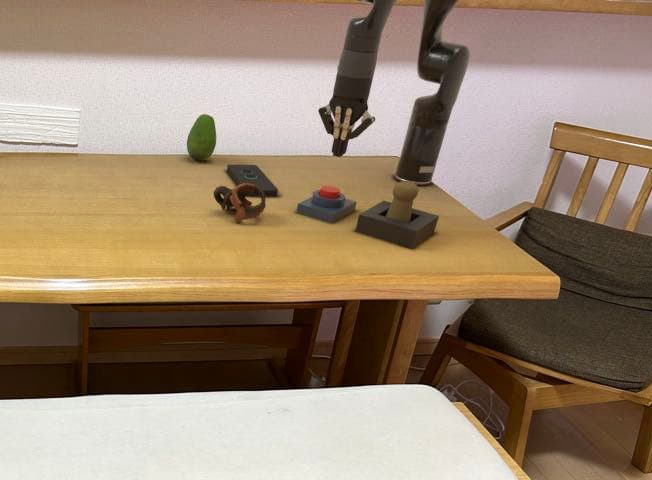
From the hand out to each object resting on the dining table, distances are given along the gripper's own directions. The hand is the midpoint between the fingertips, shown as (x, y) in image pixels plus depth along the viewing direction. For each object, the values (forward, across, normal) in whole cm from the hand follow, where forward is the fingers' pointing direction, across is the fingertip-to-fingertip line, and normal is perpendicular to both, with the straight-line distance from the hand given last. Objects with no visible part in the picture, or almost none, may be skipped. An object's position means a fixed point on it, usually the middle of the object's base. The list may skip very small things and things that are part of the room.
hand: (337, 155), depth 168 cm
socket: (+13, -17, 0) cm, 21 cm away
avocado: (+13, +43, -10) cm, 46 cm away
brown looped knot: (+13, +13, +18) cm, 26 cm away
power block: (+13, 0, 0) cm, 13 cm away
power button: (+9, 0, 0) cm, 9 cm away
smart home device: (+13, +23, -4) cm, 27 cm away
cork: (+13, -17, 0) cm, 21 cm away
